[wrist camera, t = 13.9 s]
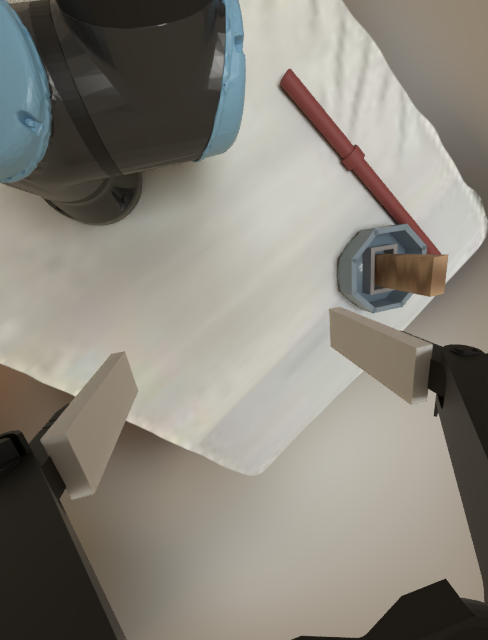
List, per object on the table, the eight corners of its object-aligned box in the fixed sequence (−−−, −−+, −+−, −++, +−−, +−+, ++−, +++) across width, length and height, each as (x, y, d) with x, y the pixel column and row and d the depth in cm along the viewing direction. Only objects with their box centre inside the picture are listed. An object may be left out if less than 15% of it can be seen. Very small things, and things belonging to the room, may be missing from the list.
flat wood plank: (369, 255, 48) (433, 257, 35) (380, 253, 49) (448, 254, 35) (368, 284, 50) (430, 296, 37) (379, 282, 50) (443, 293, 37)
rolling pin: (275, 91, 38) (281, 78, 36) (287, 73, 38) (294, 58, 35) (423, 262, 53) (436, 263, 50) (433, 250, 52) (447, 251, 49)
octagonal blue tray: (335, 234, 47) (351, 232, 42) (407, 222, 49) (429, 219, 44) (337, 311, 52) (351, 317, 47) (402, 298, 54) (422, 302, 49)
